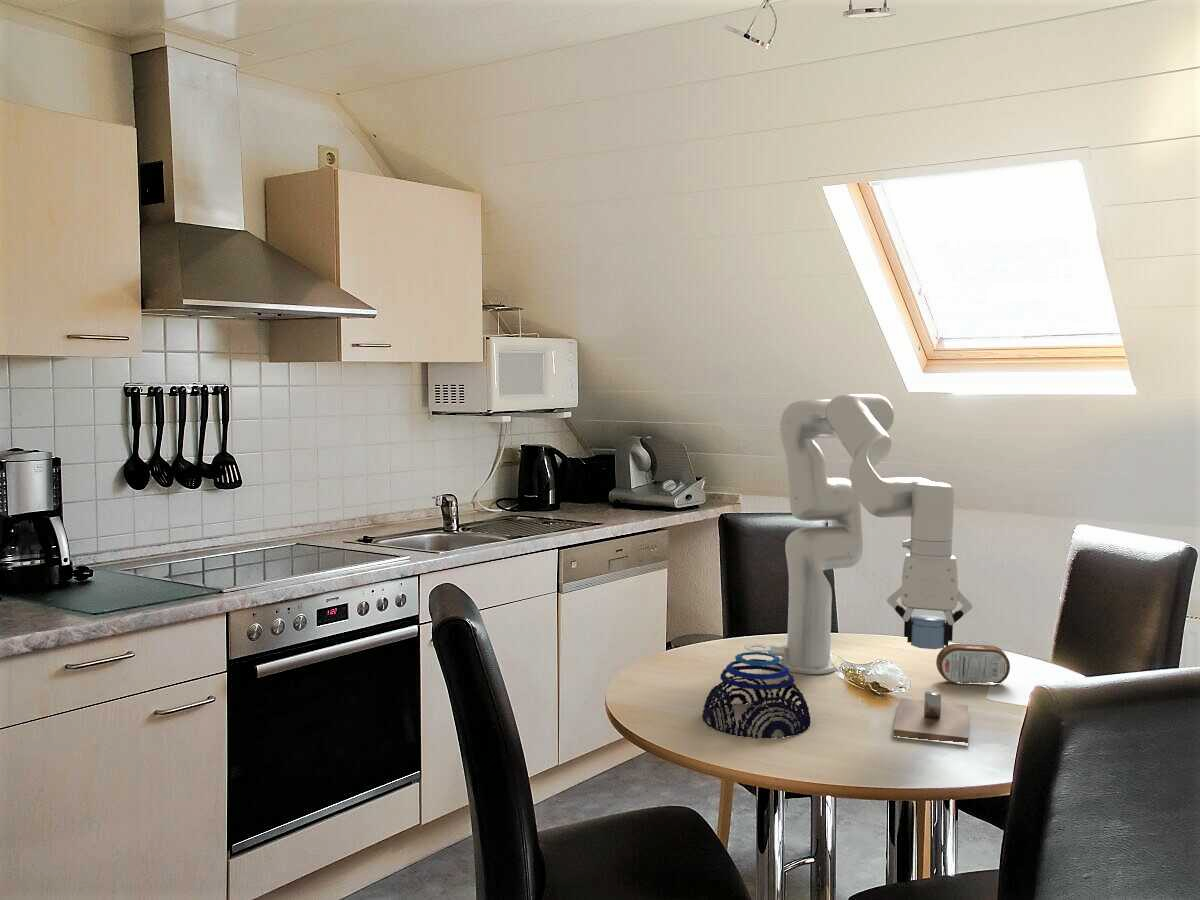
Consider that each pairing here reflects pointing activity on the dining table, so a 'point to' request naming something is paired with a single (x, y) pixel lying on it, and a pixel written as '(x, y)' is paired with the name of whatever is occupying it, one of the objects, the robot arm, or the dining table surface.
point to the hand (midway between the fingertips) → (927, 641)
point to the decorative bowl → (773, 725)
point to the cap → (928, 632)
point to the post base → (931, 722)
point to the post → (932, 705)
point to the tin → (973, 663)
